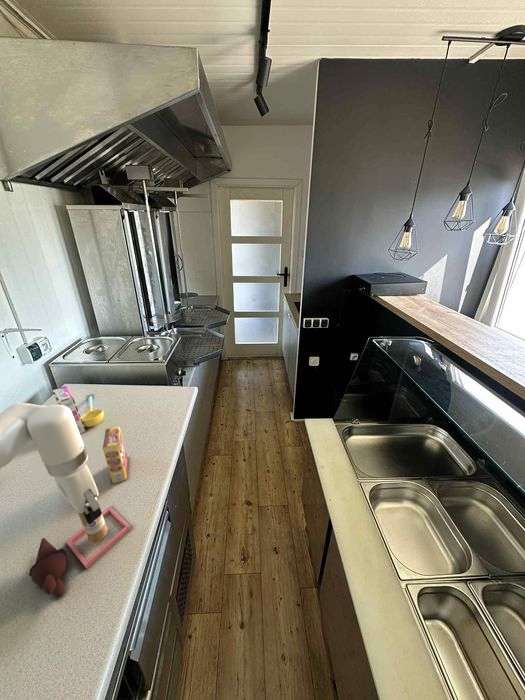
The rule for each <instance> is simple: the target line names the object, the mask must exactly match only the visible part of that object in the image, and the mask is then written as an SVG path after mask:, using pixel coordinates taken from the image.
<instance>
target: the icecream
mask: <svg viewBox="0 0 525 700" xmlns="http://www.w3.org/2000/svg"><path fill="white" fill-rule="evenodd" d="M67 554H68V553H67V550H65V548H64V547H61V548H58V549H57V548H56V547H55V546H54V545H52V544H51V542H49V540H47V538H45V537H42V538H41V540H40V543H39V548H38V551H37V555H36V559H35V563H34V564H33V565H32V566H31V567H30V569H29V572H28V576H29V577H31V581H32V582H33V583H34V584H35V585H37V586H38V587H39V588H40V590H44V592H45V595H46V594H47V595H51V594H52V593H53V592H54V593H55V596H56V598H58V599H59V598H62V597H63V596H64V595H65V589H66V588H65V587H66V586H65V584H64V583H63V581H62V580H61V577H62V576H63V573H64V572H65V570H66V568H67V563H68V562H67Z"/></svg>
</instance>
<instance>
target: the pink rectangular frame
mask: <svg viewBox="0 0 525 700" xmlns="http://www.w3.org/2000/svg"><path fill="white" fill-rule="evenodd" d="M109 514H110V515H112V517H113V518H114V519H116V521H118V523H119V524H120V525H122V527H123V528H122V529H121V530H119V532H117V533H116V534H115V535H114V536H113V537H112V538H111V539H110V540H109V541H107V542H106V543H105V544H104V545H103V546H102V547H100V549H98V550H97V551H96V552H95V553H94V554H93V555H92V556H90V557H89V558H88V559H87V560H86V558H85V557H84V555H82V553H81V551H80V550H78V548H77V547H76V546H75V544H74V543H75V542H76V541H78V540H79V539H80V538H81V537H82V536H84V535H85V534H87V533H86V532H85V530H84V527H82V528H81V529H80V530H79V531H78V532H76V533H75V534H74V535H72V536H71V537H70V538H69V539H68V540H66V541H65V543H66V545H67V546H68V548H69V549H70V551H72V553H73V554H74V556H76V558H77V559H78V561H79V562H80V563H81V565H82V566H83V567H84V568H85V569H88V568H89V567H90V566H92V565H93V564H94V563H95V562H96V561H97V560H98V559H99V558H100V557H102V556H103V554H105V553H106V552H107V551H108V550H109V549H110V548H111V547H112V546H114V545H115V544H116V543H117V542H118V541H119V540H120V539H121V538H122V537H123V536H124V535H125V534H127V533H128V532H129V531H130V530H131V529H132V528H131V525H130V524H129V523H128V522H127V521H126V520H125V519H124V518H123V517H122V516H121V515H120V514H119V513H118V512H117V511H116V510H115V509H113V508H112V507H111V506H109V507H108V508H106V509H105V510H103V512H102V515H103V518H104V519H105V518H106V517H107V516H108V515H109Z"/></svg>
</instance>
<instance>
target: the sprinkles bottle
mask: <svg viewBox="0 0 525 700" xmlns="http://www.w3.org/2000/svg"><path fill="white" fill-rule="evenodd" d="M95 498H96V500H97V501H98V497H95ZM85 505H86V507H89V506H90V505H89V503H87V504H85ZM74 510H75V512H76V513H77V514H78V517H79V519H80V522H81V524H82V528H84V530H85V532H86V533H85V534H86V535H87V538H88V541H89V542H91V543H98V542H100V541H102V540H103V539H104V538H105V537H106V536H107V534H108V532H109V527H108V526H107V524H106V521H105V517H104V518H103V515H101V516H99V517H98V518H97V519H96V520H94V521H93V522H92V523H91V524H88V523H87V521H86V518H85V516H84V514H83V512H84V510H83V508H82V509H81V510H76V509H75V508H74Z"/></svg>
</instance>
